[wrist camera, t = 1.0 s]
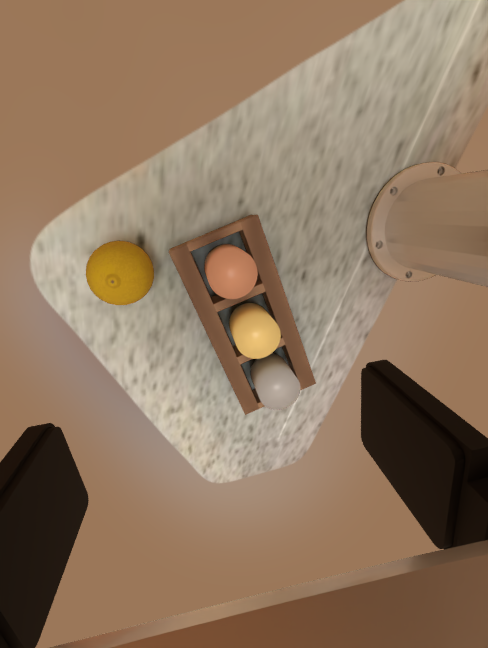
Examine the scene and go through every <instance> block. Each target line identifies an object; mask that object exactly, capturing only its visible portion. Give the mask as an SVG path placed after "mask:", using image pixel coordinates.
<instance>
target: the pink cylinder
mask: <svg viewBox="0 0 488 648" xmlns="http://www.w3.org/2000/svg"><path fill="white" fill-rule="evenodd" d="M204 269H205V273H206V276H207V279H208V282H209V285H210V286H211V288H212V290H213V291H214V292H215V293H216V294H218V295H219V296H221V297H223V298H226V299H238V298H241V297H243V296H245V295H247V294H248V293H249V292H250V291H251V290H252V289H253V287H254V285H255V283H256V281H257V275H258V272H257V266H256V264H255V261H254V260H253V258H252V257H251V256H250V255H249V254H248V253H246V252H245V251H243V250H241V249H240V248H238V247H236V246H234V245H231V244H222V245H219V246H216V247H215V248H213V249H212V250H211V251H210V252H209V253H208V255H207V257H206V259H205V263H204Z"/></svg>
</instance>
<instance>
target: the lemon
mask: <svg viewBox="0 0 488 648" xmlns="http://www.w3.org/2000/svg"><path fill="white" fill-rule="evenodd" d="M86 278H87V282H88V284H89V287H90V289H91V290H92V291H93V293H94V294H95V295H96V296H97V297H99V298H100V299H101V300H103V301H105V302H107V303H110V304H115V305H127V304H131V303H134V302H136V301H138V300H140V299H141V298H142V297H144V296H145V295H146V294H147V293H148V291H149V289H150V288H151V286H152V283H153V279H154V269H153V265H152V262H151V260H150V258H149V256H148V255H147V254H146V253H145V252H144V251H143V250H142V249H141V248H140V247H138V246H137V245H135V244H132V243H129V242H125V241H113V242H109V243H106V244H103V245H102V246H100V247H99V248H97V249H96V250H95V251H94V252H93V254H92V255H91V256H90V258H89V260H88V263H87V266H86Z"/></svg>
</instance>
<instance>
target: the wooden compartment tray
mask: <svg viewBox="0 0 488 648" xmlns="http://www.w3.org/2000/svg"><path fill="white" fill-rule="evenodd" d="M238 231H239V233H240V235H241V238H242V241H243V243H244V246H245V249H246V251H247V253H248V254H249V255H250V256H251V257H252V258H253V260H254V261H255V264H256V266H257V272H258V275H257V281H256V283H255V285H254V287H253V289H252V290H251V291H250V292H249V293H248V294H247V295H245V296H243V297H241V298H238V299H226V298H223V297H221V296H219V295H218V294H217V295H215V296H212V297H211V296H210V294H209V292H208V289H207V287H206V285H205V283H204V280H203V278H202V276H201V274H200V271H199V269H198V267H197V265H196V262H195V260H194V258H193V256H192V253H191V251H193V250H195V249H198V248H200V247H202V246H205V245H207V244H209V243H212V242H214V241H217V240H219V239H221V238H224V237H226V236H228V235H231V234H233V233H236V232H238ZM169 254H170V256H171V258H172V260H173V262H174V264H175V266H176V269H177V271H178V273H179V275H180V277H181V279H182V281H183V283H184V286H185V288H186V290H187V292H188V294H189V296H190V298H191V300H192V303H193V305H194V307H195V309H196V311H197V313H198V315H199V317H200V320H201V322H202V324H203V326H204V328H205V330H206V332H207V334H208V336H209V339H210V341H211V343H212V345H213V347H214V349H215V351H216V353H217V356H218V358H219V360H220V362H221V364H222V366H223V368H224V370H225V373H226V375H227V377H228V379H229V381H230V383H231V385H232V387H233V390H234V392H235V394H236V396H237V398H238V400H239V402H240V404H241V407H242V409H243V411H244V413H245V415H246V414H248V413H250V412H253V411H255V410H257V409H259V408H262V407H264V405H263V404H262V402H261V401H260V399H259V396H258V394H257V391H256V389H254V390H252V389H251V386H250V384H249V382H248V380H247V377H246V375H245V373H244V370H243V368H242V366H241V364H242V363H244V362H247V361H249V360H251V359H252V358H248V357H246V356H244V355H243V354H242V353H241V352H240V351H239V350H238V348H237V346H232V343H231V341H230V339H229V337H228V334H227V332H226V330H225V328H224V325H223V323H222V321H221V319H220V316H219V314H218V312H219V311H221V310H223V309H226V308H228V307H230V306H233V305H235V304H237V303H240V302H242V301H244V300H247V299H249V298H251V297H254V296H256V295H258V294H261V293H262V294H263V297H264V300H265V302H266V305H267V308H268V310H269V313H270V316H271V317H272V318H273V320H274V321H275V322H276V323H277V325H278V326H279V328H280V333H281V338H280V342H279V345H278V347H277V348H279V347H281V346H282V348H283V350H284V353H285V356H286V358H287V361H288V364H289V366H290V369H291V370H292V372H293V373H294V375H295V376H296V377H297V379H298V380H299V383H300V390H302V389H304V388H307V387H309V386H311V385H313V384H316V382H315V379H314V376H313V374H312V371H311V368H310V365H309V362H308V359H307V356H306V353H305V350H304V347H303V345H302V342H301V339H300V336H299V333H298V330H297V327H296V324H295V321H294V318H293V315H292V313H291V310H290V307H289V304H288V301H287V298H286V295H285V292H284V289H283V286H282V284H281V281H280V278H279V275H278V272H277V269H276V266H275V263H274V260H273V257H272V255H271V252H270V249H269V246H268V243H267V240H266V237H265V234H264V231H263V228H262V226H261V223H260V220H259V217H258V215H249V216H247V217H245V218H242V219H240V220H238V221H235V222H233V223H230V224H228V225H226V226H223V227H221V228H218V229H216V230H214V231H211V232H209V233H206V234H204V235H202V236H199V237H197V238H195V239H192V240H190V241H187V242H185V243H183V244H180V245H178V246H175V247H173V248H171V249H170V250H169Z"/></svg>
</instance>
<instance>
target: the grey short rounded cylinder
mask: <svg viewBox="0 0 488 648" xmlns="http://www.w3.org/2000/svg"><path fill="white" fill-rule="evenodd" d="M250 375H251V379H252V381H253V384H254V386H255V389H256V391H257V394H258V396H259V399H260V401H261V402H262V404H263V405H264V406H266V407H267V408H269V409H273V410H280V409H284V408H287V407H289V406H290V405H292V404H293V403H294V402H295V401H296V400H297V398H298V396H299V394H300V383H299V380H298V379H297V377H296V376H295V375H294V373H293V372H292V370H291V369H290V367H289V366H288V364H287V363H286V361H285V360H284V359H283V358H282V357H281V356H279V355H276V354H270V355H268V356H266V357H264V358H260V359H257V360H256V361H255V362H254V363H253V365H252V367H251V370H250Z"/></svg>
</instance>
